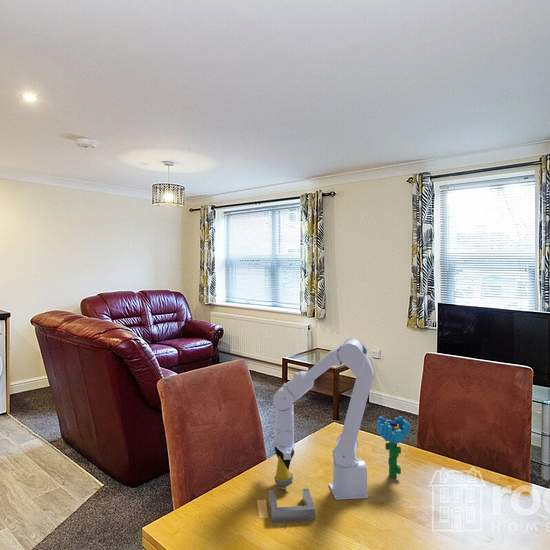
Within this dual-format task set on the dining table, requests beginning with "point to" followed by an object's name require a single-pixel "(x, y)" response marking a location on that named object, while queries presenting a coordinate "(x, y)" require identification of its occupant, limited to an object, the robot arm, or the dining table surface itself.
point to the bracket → (292, 509)
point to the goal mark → (262, 509)
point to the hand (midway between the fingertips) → (284, 472)
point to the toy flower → (393, 440)
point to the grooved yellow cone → (283, 475)
